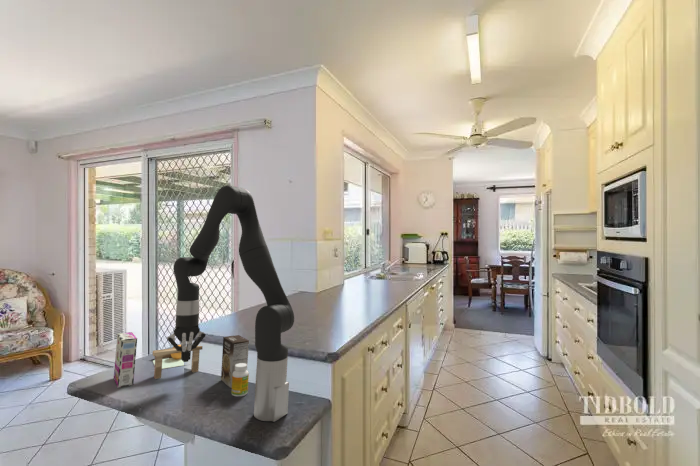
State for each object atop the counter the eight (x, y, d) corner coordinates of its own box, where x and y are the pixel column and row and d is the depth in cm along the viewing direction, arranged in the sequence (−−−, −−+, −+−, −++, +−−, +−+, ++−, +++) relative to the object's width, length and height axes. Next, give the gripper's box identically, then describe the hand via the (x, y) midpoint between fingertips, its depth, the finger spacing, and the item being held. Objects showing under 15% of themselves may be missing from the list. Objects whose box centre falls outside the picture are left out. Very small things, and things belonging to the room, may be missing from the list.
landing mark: (189, 364, 139) (189, 364, 139) (156, 370, 132) (156, 369, 132) (183, 356, 149) (183, 356, 149) (152, 360, 142) (152, 360, 142)
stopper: (180, 356, 149) (181, 350, 149) (155, 359, 143) (155, 354, 143) (179, 354, 151) (180, 349, 151) (154, 358, 145) (154, 352, 145)
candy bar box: (134, 385, 118) (137, 338, 118) (117, 388, 114) (121, 340, 115) (129, 375, 126) (132, 331, 127) (113, 378, 123) (116, 333, 124)
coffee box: (220, 380, 125) (222, 336, 126) (236, 376, 129) (239, 334, 130) (229, 388, 118) (232, 342, 119) (247, 384, 123) (249, 339, 123)
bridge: (201, 371, 133) (202, 346, 134) (151, 379, 123) (153, 352, 123) (199, 368, 136) (200, 344, 136) (150, 376, 125) (152, 350, 126)
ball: (187, 351, 150) (188, 355, 145) (174, 359, 148) (174, 364, 143) (181, 340, 149) (182, 344, 144) (167, 347, 146) (167, 352, 141)
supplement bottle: (242, 397, 112) (244, 368, 112) (228, 395, 113) (229, 366, 113) (250, 391, 117) (252, 363, 117) (236, 389, 118) (238, 361, 118)
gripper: (204, 309, 127) (202, 355, 126) (165, 312, 120) (163, 361, 119) (209, 312, 121) (207, 361, 120) (168, 316, 114) (166, 368, 113)
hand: (185, 361), depth 120 cm, fingers closed
